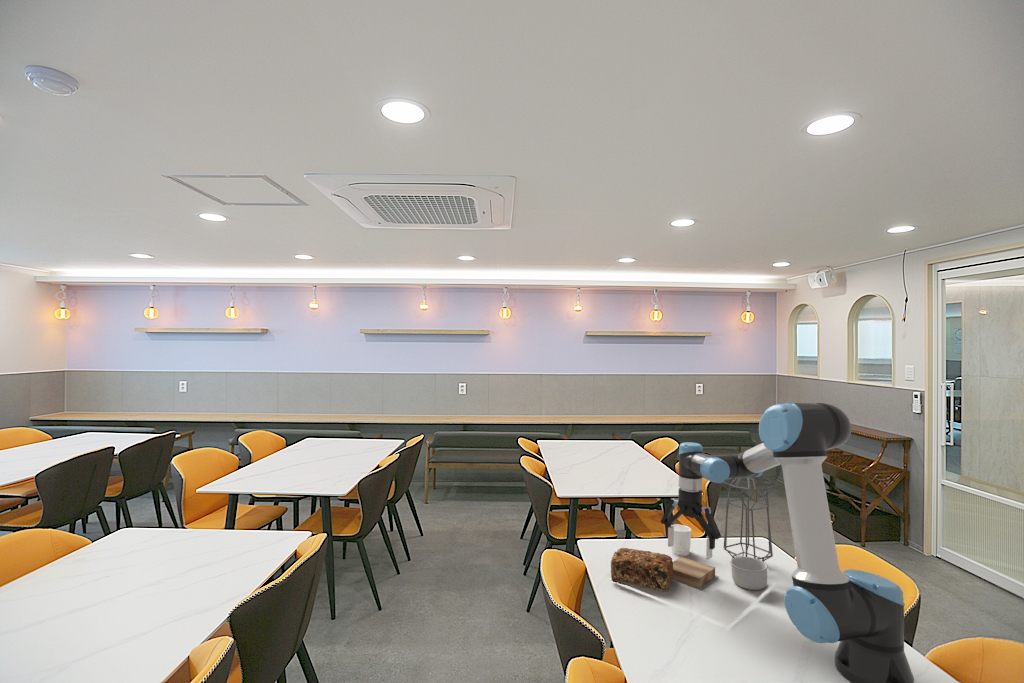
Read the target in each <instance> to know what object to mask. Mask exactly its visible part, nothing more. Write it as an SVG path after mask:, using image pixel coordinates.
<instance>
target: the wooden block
mask: <svg viewBox="0 0 1024 683" xmlns="http://www.w3.org/2000/svg"><path fill="white" fill-rule="evenodd" d="M715 575H716V567H715V566H711V565H708V564H705V563H703V562H698V561H696V560H693V559H691V558H690V559H689V558H686V557H684V556H681V557H679V558H676V559H675V560H673V579H675V580H678V581H681V582H684V583H687V584H689V585H692V586H695V587H698V588H700V587H702V586H703V585H704V584H706V583H707V582H708V581H710V580H711V579H712V578H714V577H715Z"/></svg>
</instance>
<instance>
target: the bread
mask: <svg viewBox="0 0 1024 683" xmlns="http://www.w3.org/2000/svg"><path fill="white" fill-rule="evenodd" d="M673 562H674V560H673V558H672V557H671V556H669V555H668V554H665V553H659V552H652V551H649V550H641V549H634V548H629V547H628V548H627V547H620V548H619V549H617V551H614V553H613V555H612V557H611V560H610V578H611V580H612V582H613V583H616V584H617V583H618V584H621V585H624V586H625V585H626V586H628V587H630V585H629V584H632V585H637V586H639V587H644V588H648V589H653V590H657V591H662V592H668V589H670V588H669V587H670V586H671V584H672V583H673V580H672V578H673ZM626 583H627V584H626Z"/></svg>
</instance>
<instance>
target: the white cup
mask: <svg viewBox="0 0 1024 683" xmlns="http://www.w3.org/2000/svg"><path fill="white" fill-rule="evenodd" d="M671 526H674V545H673V546H671V547H670V552H671V553H672V554H673V555H677V556H681V557H684V556H688V555H690V550H691V541H692V540H691V539H692V528H691V527H689V526H687V525H684V524H677V523H675V524H672V525H671Z"/></svg>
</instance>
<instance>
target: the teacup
mask: <svg viewBox="0 0 1024 683" xmlns="http://www.w3.org/2000/svg"><path fill="white" fill-rule="evenodd" d="M734 557H735V558H733V559H732V558H731V560H730V567H731V568H730V570H731V577H732V580H733V582H734V583H735V585H737V586H738V587H740V588H742V589H746V590H750V591H760V590H763V589H764V588H766V586H767V584H768V565H767V564H766V562H765V561H764V562H763V561H761V560H762V559H760V560H759V559H757V557H756V558H754V557H752V556H747V557H746V556H744V557H742V554H739V555H736V556H734Z"/></svg>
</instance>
